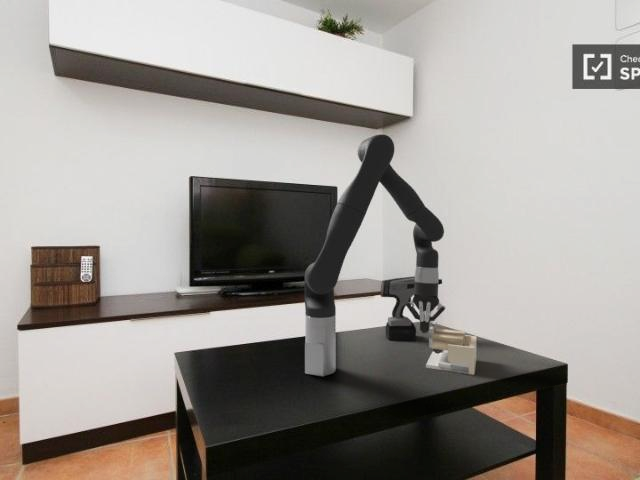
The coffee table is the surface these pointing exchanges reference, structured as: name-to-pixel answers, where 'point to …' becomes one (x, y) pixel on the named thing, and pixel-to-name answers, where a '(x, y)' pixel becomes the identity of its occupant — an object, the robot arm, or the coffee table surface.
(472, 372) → the dock
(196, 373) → the coffee table surface
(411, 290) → the cordless drill
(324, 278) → the robot arm
